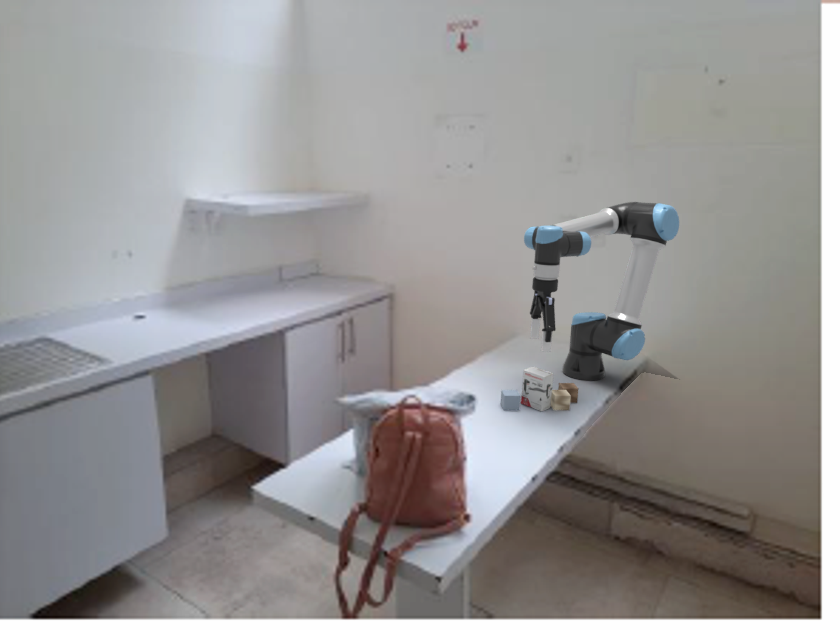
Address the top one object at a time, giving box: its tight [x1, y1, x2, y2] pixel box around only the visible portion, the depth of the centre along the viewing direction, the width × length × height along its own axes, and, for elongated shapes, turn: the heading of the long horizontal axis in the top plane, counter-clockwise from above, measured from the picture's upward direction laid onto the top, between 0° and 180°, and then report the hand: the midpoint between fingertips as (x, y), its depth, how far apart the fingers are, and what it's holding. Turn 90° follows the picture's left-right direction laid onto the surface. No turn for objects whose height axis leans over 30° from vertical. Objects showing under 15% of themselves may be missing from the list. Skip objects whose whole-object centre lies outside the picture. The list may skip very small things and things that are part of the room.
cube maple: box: [550, 389, 571, 411], centre depth 183 cm, size 5×5×5 cm
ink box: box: [520, 366, 555, 412], centre depth 183 cm, size 9×5×12 cm, turn 44°
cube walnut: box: [557, 382, 579, 404], centre depth 190 cm, size 5×5×5 cm
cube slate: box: [500, 389, 521, 411], centre depth 182 cm, size 5×5×5 cm
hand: (539, 345), depth 179 cm, fingers open, 13 cm apart
